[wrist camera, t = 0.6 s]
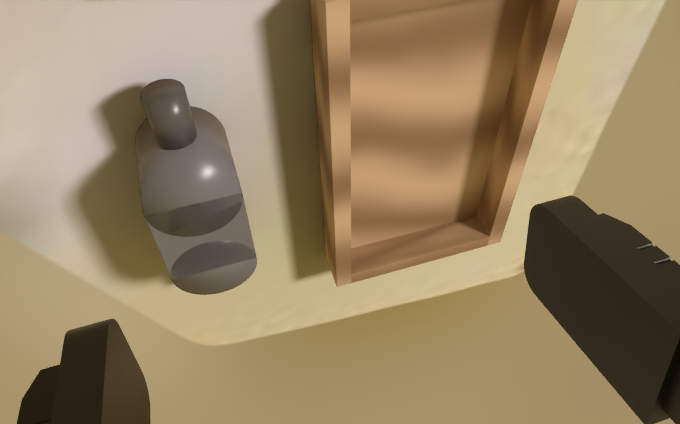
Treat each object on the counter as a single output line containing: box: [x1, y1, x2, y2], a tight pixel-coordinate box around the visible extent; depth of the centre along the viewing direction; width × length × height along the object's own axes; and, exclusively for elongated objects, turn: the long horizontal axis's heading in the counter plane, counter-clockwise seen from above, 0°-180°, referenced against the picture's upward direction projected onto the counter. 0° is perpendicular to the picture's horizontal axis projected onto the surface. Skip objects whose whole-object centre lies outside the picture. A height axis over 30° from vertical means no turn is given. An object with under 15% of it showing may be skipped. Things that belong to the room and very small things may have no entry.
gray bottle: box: [135, 79, 257, 295], centre depth 28 cm, size 14×4×4 cm, turn 2°
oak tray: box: [310, 0, 578, 287], centre depth 31 cm, size 20×12×3 cm, turn 2°
